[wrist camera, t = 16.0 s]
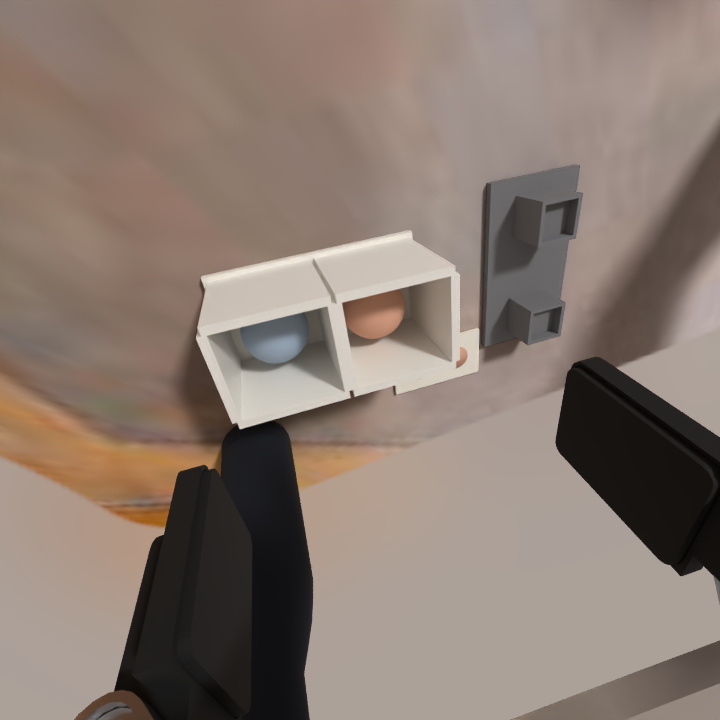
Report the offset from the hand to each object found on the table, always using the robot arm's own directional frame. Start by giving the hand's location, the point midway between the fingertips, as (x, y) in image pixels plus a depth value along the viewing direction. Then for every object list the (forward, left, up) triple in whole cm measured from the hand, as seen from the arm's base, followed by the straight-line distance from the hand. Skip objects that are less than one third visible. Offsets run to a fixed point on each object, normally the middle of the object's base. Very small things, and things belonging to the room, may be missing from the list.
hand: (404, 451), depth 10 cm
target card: (-11, +14, -23) cm, 29 cm away
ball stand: (-20, +6, -23) cm, 31 cm away
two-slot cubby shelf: (-1, +5, -23) cm, 23 cm away
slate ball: (+3, +5, -22) cm, 23 cm away
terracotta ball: (-5, +5, -22) cm, 23 cm away
